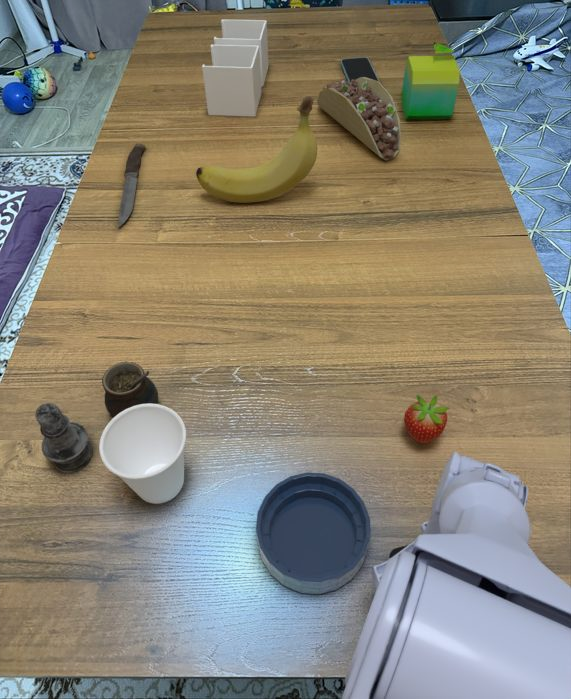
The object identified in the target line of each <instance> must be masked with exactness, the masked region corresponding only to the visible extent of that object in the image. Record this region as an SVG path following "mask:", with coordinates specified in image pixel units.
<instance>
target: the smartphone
mask: <svg viewBox="0 0 571 699" xmlns="http://www.w3.org/2000/svg"><path fill="white" fill-rule="evenodd" d="M340 66H341V68H342V71H343V73H344V75H345V77H346V81H348V82H351V80H352V79H354V80H356V79H358V78H360V77H366V78H369V79H372V80H376V81H378V82H380V80H379V77H378V75H377V73H376V72H375V69H374V68H373V65H372V64H371V61H370V59H369V58H368V57H366V56H365V57H363V56H362V57H352V58H349V57H348V58H342V59H341V60H340Z"/></svg>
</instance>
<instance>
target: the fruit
mask: <svg viewBox="0 0 571 699" xmlns="http://www.w3.org/2000/svg"><path fill="white" fill-rule="evenodd" d="M415 396H416V399H417V401H416V402H415V403H412V404H410V406H409V407H408V408H407V409H406V411H405V413H404V416H403V423H404V426H405V429H406V431H407V433H408V434H409V435H410V436H411V438H413V439H414V440H415V441H416V442H418V443H421V444H427V443H429V442H431V441H433V440H435V439H437V438H439V437H440V436H442V434H443V432H444V431H445V428H446V426H447V423H448V414H447V411H448V410H450V407H449V406H443V405H442V404H440V403H439V402H438V395H434V396H433V397H432V398H431V399H430V400H429V399H427V400H425V399H424V398H423V397H421V396H420V395H419V394H416V395H415Z"/></svg>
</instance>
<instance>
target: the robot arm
mask: <svg viewBox="0 0 571 699" xmlns="http://www.w3.org/2000/svg"><path fill="white" fill-rule="evenodd" d="M441 472H442V473H441V474H440V475H441V476H440V478H439V481H438V483H437V487H436V489H435V492H434V495H433V499H432V501H431V507H430V517H429V519H428V520H426V521H423V522H422V524H421V526H420V529H421V530H420V531H421V533H422V534H418V535H417V537H416V539H415V540H413V541H412V542H411V543H410V544H406V545H403V546H399V547H395V548H393V549H392V550H391V551H390V553H389V555H388V559H387V560H386V561H384V562H382V563H380V564H377V565H373V566H372V570H371V576H372V580H373V582H374V585H375V588H376V591H375V593H374V596H373V599H372V602H371V604H370V607H369V611H368V613H367V616H366V619H365V621H364V624H363V627H362V629H361V631H360V632H361V633H360V635H359V638H358V640H357V643H356V646H355V649H354V652H353V655H352V658H351V660H350V663H349V666H348V669H347V672H346V674H345V677H344V682H343V683H344V685H345V688H344V690H343V693H342V697H341V699H571V586H570V585H569V584H568V583H567V582H565V581H564V580H563V579H562V578H560V577H559V576H558V575H557V574H556V573H554V572H553V571H552V570H551V569H550V568H548V567H547V566H546V565H545V564H544V563H543V562H542V561H541V560H540V559H539V557H538V556H537V554H536V553H535V552H534V551H533V549H532V548H531V546H529V542H530V537H531V522H530V518H529V514H528V512H527V511H526V508H527V505H528V498H529V487H528V486H527V485H524V482H523V481H521V478H520V476H519V475H516V474H514V473H511V472H508V471H506V470H504V469H502V467H501V466H499V465H496V464H493V463H491V462H482V461H479V460H477V459H475V458H472V457H469V456H467V455H464V454H461V455H460V454H459V453H458V452H457V451H454V452H452V453H451V454H450V457H448V459H447V461H446V462H445V465H444V467H443V470H442V471H441Z"/></svg>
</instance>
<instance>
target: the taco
mask: <svg viewBox="0 0 571 699" xmlns="http://www.w3.org/2000/svg"><path fill="white" fill-rule="evenodd" d="M316 102H317V103H316V104H317V106H318V107H319V108H320V109H322V111H324V112H325V113H326V114H328V115H329V116H330V117H331V118H332V119H334V120H335V121H336V122H337V123H339V124H340V125H341V126H342V127H343V128H344V129H346V130H347V131H348V132H349V133H350V134H351V135H353V136H354V137H355V138H356V139H357V140H359V141H360V142H361V143H362V144H364V145H365V146H366V147H367V148H368V149H370V150H371V151H372V152H374V153H375V154H376V155H377V156H378V157H380V158H381V159H383V160H384V161H389V160H392V159H395V158H396V157H397V155H398V154H399V153H400V150H401V146H402V134H401V132H402V130H401V119H400V116H399V112H398V110H397V107H396V104H395V101H394V99H393V95H391V94H390V92H389V91H387V89H386V88H385V86H383V85H382V83H381V82H380V81H379V82H378V81H376V80H372V79H369V78H366V77H360V78H358V79H356V80H354V79H352V80H351V82H348V81H347V80H345V79H343V80H341V81H339V80H337V82H334V81H331V82H329V83H327V84H326V87H325V86H322V89H321V90H320V91H319V94H318V97H317V101H316Z"/></svg>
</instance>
